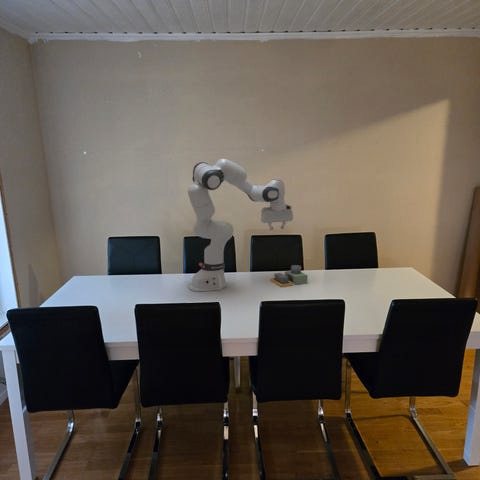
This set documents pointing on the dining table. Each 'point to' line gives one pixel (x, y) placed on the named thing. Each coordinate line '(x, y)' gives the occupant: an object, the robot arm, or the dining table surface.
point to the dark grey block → (281, 278)
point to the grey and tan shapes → (293, 277)
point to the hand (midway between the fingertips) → (276, 229)
